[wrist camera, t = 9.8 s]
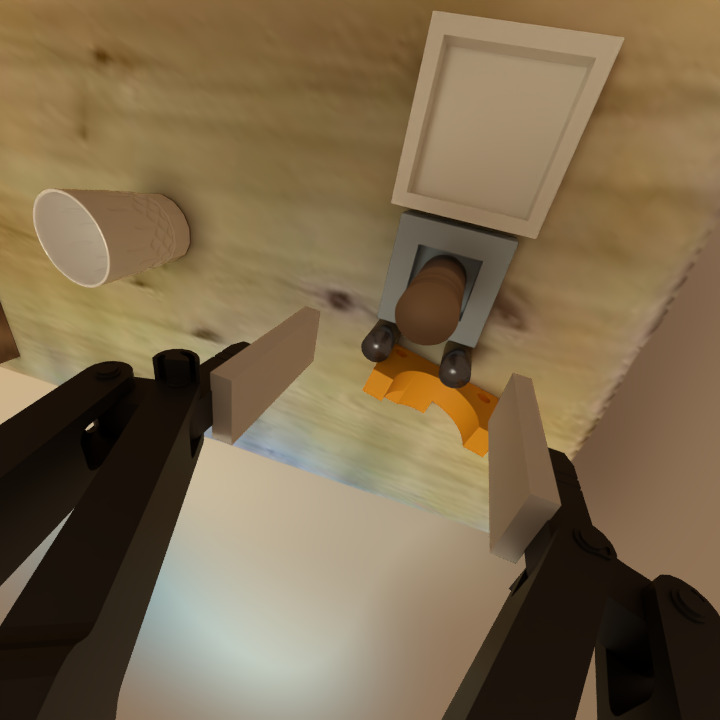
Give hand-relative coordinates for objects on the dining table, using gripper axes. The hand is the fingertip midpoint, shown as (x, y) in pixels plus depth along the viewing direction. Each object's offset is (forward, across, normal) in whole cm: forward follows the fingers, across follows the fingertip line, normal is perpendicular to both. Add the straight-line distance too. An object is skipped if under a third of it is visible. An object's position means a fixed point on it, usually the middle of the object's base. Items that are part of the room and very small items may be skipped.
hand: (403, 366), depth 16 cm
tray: (+17, 0, -10) cm, 20 cm away
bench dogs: (+17, 0, +6) cm, 19 cm away
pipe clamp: (+18, -2, +11) cm, 21 cm away
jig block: (+17, 0, 0) cm, 17 cm away
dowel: (+17, 0, 0) cm, 17 cm away
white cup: (+18, +30, +3) cm, 35 cm away
